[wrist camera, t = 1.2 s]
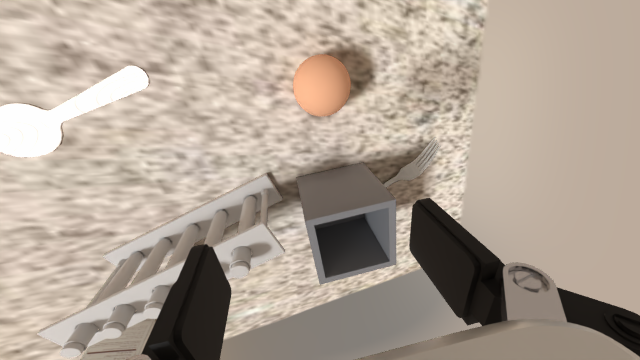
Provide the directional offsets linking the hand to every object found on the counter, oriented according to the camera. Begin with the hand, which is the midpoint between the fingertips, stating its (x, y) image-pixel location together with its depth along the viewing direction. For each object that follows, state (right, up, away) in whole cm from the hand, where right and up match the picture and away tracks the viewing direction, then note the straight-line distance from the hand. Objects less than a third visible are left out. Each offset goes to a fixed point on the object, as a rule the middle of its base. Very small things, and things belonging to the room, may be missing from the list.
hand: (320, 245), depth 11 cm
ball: (0, +13, +14) cm, 19 cm away
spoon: (-26, +10, +14) cm, 31 cm away
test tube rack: (-18, -3, +22) cm, 28 cm away
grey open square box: (+2, 0, +24) cm, 24 cm away
